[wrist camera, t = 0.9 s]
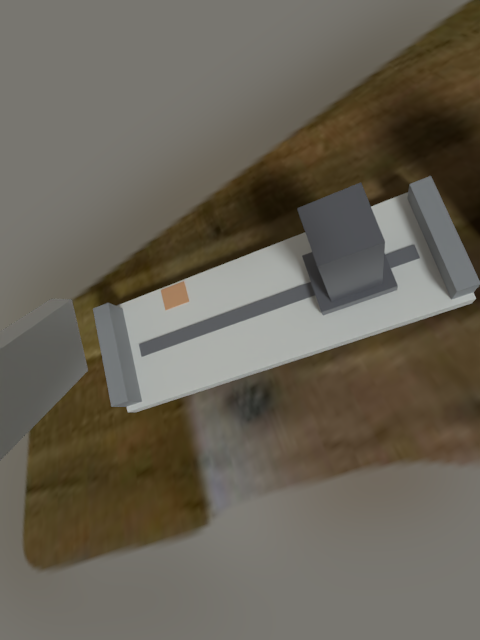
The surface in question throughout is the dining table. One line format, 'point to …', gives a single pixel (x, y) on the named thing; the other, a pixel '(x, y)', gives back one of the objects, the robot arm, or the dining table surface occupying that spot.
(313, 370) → the dining table surface
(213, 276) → the fader base
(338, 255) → the fader knob
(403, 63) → the dining table surface
